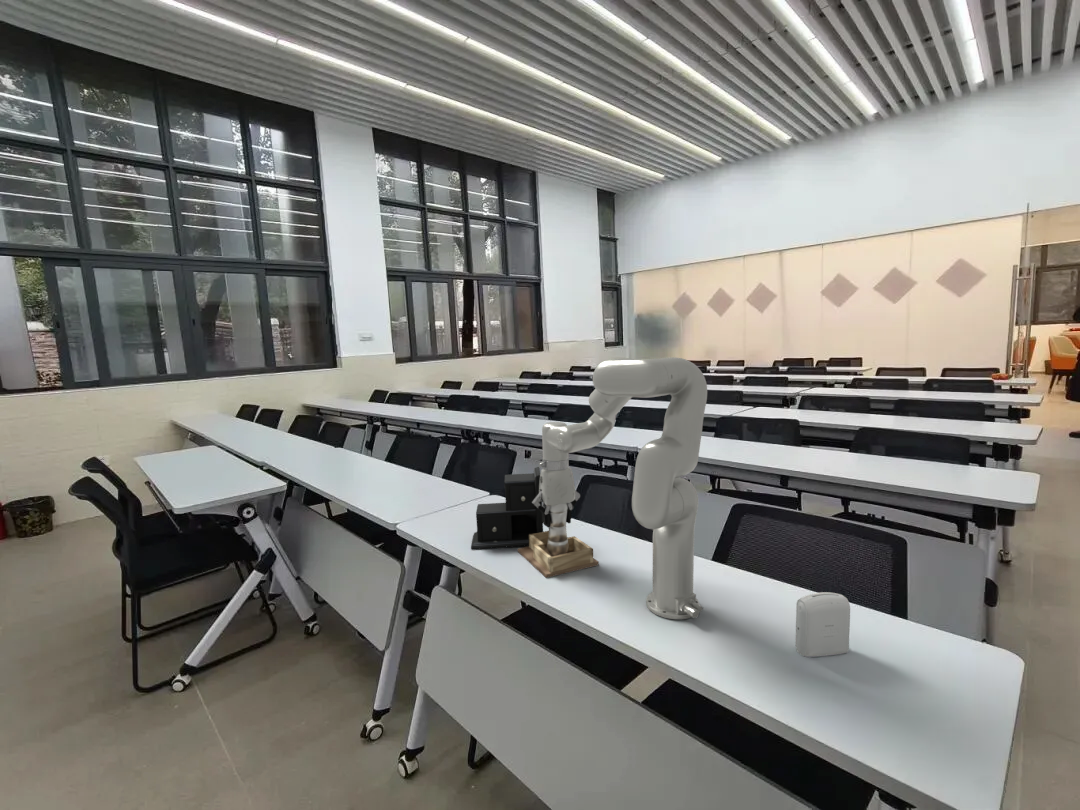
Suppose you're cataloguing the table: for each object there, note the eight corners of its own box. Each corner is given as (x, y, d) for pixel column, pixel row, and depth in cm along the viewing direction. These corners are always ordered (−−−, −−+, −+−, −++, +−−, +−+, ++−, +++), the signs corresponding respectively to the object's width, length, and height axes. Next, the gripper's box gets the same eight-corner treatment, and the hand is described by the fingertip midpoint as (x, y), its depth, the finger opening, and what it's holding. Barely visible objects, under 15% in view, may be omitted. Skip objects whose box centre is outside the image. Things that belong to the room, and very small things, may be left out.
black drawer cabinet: (470, 550, 159) (467, 477, 156) (473, 537, 170) (470, 469, 167) (544, 546, 160) (542, 474, 157) (542, 534, 171) (540, 466, 168)
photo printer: (804, 659, 101) (806, 601, 99) (791, 646, 105) (793, 590, 103) (852, 655, 102) (855, 597, 100) (837, 642, 106) (840, 587, 104)
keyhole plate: (598, 564, 146) (598, 548, 145) (546, 577, 139) (545, 560, 138) (565, 541, 164) (565, 526, 163) (517, 551, 156) (517, 536, 156)
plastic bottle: (567, 549, 154) (566, 485, 151) (569, 558, 147) (568, 492, 145) (546, 550, 154) (545, 486, 151) (547, 559, 147) (546, 492, 144)
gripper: (534, 471, 140) (536, 533, 142) (588, 463, 147) (588, 522, 149) (523, 465, 147) (525, 525, 149) (575, 458, 154) (576, 515, 156)
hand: (557, 523), depth 149 cm, fingers closed on plastic bottle, 6 cm apart
